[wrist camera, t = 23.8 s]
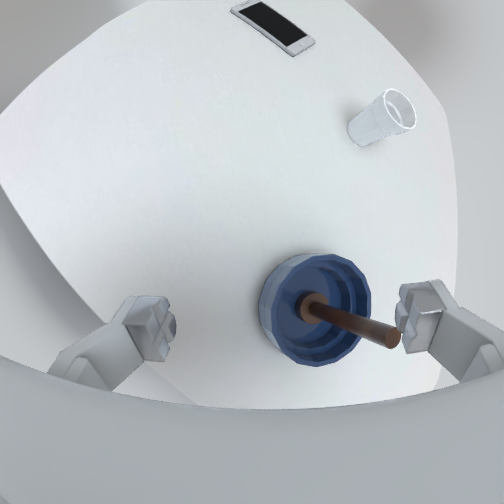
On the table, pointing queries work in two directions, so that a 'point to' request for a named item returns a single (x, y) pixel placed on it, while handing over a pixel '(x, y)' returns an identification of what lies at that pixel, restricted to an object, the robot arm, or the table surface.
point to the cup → (383, 118)
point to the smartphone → (274, 26)
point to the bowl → (321, 281)
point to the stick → (345, 320)
